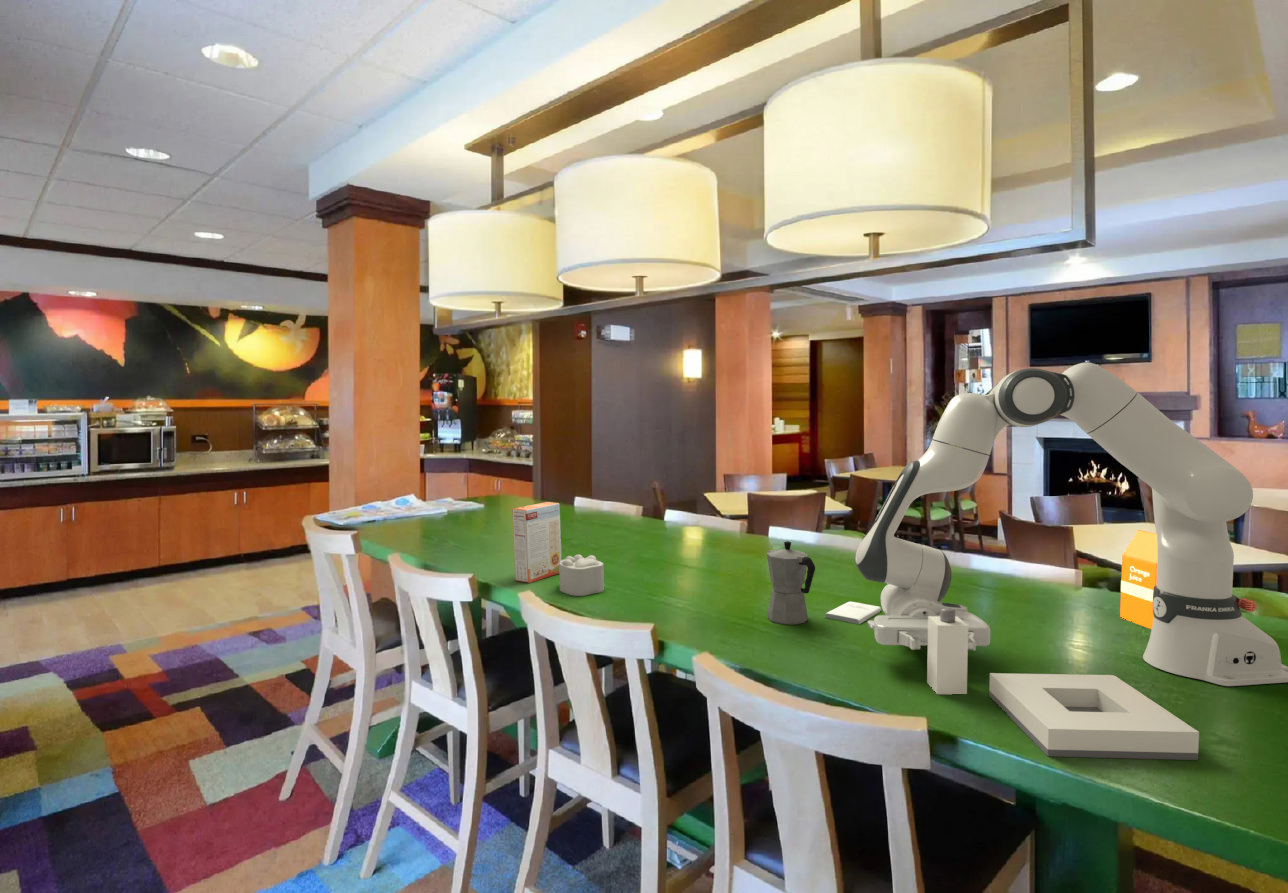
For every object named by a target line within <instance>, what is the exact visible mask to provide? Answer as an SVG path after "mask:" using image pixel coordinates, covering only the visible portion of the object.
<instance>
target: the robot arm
mask: <svg viewBox="0 0 1288 893" xmlns="http://www.w3.org/2000/svg"><path fill="white" fill-rule="evenodd" d="M1059 416H1062V417H1065V418H1067V419H1069V420H1070V421H1072V422H1073V423H1075V424H1076V425H1077V426H1078V427H1079V428H1080V429H1081V430H1082V431H1083V432H1084V433H1086V434H1087V435H1088V436H1089V437H1090V438H1091V439H1092V440H1093V441H1094V442H1096V443H1097V444H1098V445H1099V446H1101V448H1103V449H1104V450H1105V451H1106V452H1107V453H1108V454H1109V455H1110V456H1111V457H1112V458H1114V459H1115V460H1116V461H1117V462H1118V463H1120V464H1121V465H1122V466H1124V467H1125V468H1126V469H1127V470H1129V471H1130V472H1132V474H1134V475H1135V476H1136V477H1138V479H1140V481H1141V480H1142V481H1143V482H1144V483H1145V484H1146V485H1147V486H1149V487H1150V488H1151V491H1152V493H1151V494H1152V507H1153V508H1152V509H1153V517H1154V518H1153V519H1154V526H1155V533H1156V534H1157V580H1156V586H1154V589H1153V604H1152V605H1153V616H1154V619H1153V625H1152V629H1150V630H1151V632H1150V635H1149V639H1148V642H1147V645H1146V649H1145V651H1144V653H1143V655H1142V658H1143V660H1144V661H1145V662H1146V663H1147V664H1148V665H1150V666H1152V667H1154V668H1156V669H1160V670H1162V671H1164V672H1168V673H1170V674H1174V675H1177V676H1182V677H1187V678H1191V679H1197V680H1201V681H1205V682H1208V683H1212V684H1216V685H1220V686H1223V687H1236V686H1237V687H1238V686H1253V685H1265V684H1267V685H1268V684H1269V685H1270V684H1281V683H1288V666H1287V665H1285V664H1282V658H1281V657H1282V656H1281V650H1280V647H1279V645H1278V643H1277V641H1275V640H1274V638H1273V637H1271V636H1270V635H1269V634H1268V633H1266V632H1264V631H1263V630H1261V629H1260V628H1259V627H1258V626H1256V625H1255V624H1253V623H1252V622H1251V621H1250V620H1248V619H1247V618H1245V617H1244V616H1243V613H1242V610H1245V611H1247V612H1250V613H1252V612H1255V611H1256V610H1257V608H1258V604H1257V603H1256V601H1254V600H1251V599H1248V598H1246V597H1245V598H1239V597H1238V596H1237V595H1234V594H1233V580H1234V559H1235V558H1234V556H1235V552H1234V549H1233V547H1232V544H1231V541H1230V536H1229V532H1228V525H1227V522H1230V521H1233V520H1235V519H1237V518H1240V517H1241V516H1243V515H1244V514H1245V513H1246V512H1247V511H1248V510H1249V509H1250V507H1251V505H1252V504H1253V499H1254V490H1253V487H1252V484H1251V482H1250V480H1248V478H1247V477H1246V476H1245V475H1244V474H1243V473H1242V472H1241V471H1240V470H1239V469H1237V467H1235V466H1234V465H1232V464H1231V463H1230V462H1229V461H1227V460H1226V459H1225V458H1223V457H1222V456H1221V455H1220V454H1218V453H1217V452H1215V451H1214V450H1212V448H1210V447H1209V446H1207V445H1206V444H1204V443H1203V442H1202V441H1201V440H1199V439H1197V438H1196V437H1195V436H1193V435H1192V434H1191V433H1189V432H1188V431H1186V430H1185V429H1183V428H1182V427H1181V426H1179V425H1178V424H1177V423H1175V422H1173V421H1172V420H1171V419H1170V418H1169V417H1168V416H1166V415H1165V414H1164V413H1163V412H1162V411H1160V409H1158V408H1157V407H1156V406H1154V404H1152V403H1151V402H1150V401H1149V400H1147V399H1146V398H1145V397H1144V396H1143V395H1141V394H1140V393H1139V392H1138V391H1137V390H1135V388H1133V387H1131V386H1130V385H1129V384H1128V383H1127V382H1125V381H1124V380H1123V379H1121V378H1119V377H1118V376H1117V375H1115V374H1114V373H1112V372H1110V371H1109V370H1107V369H1105V368H1104V367H1101V366H1100V365H1098V364H1096V363H1092V362H1087V361H1086V362H1081V363H1077V364H1074V365H1072V366H1070V367H1068V368H1067V369H1065V370H1064V371H1063V372H1062V373H1059V372H1056V371H1055V372H1054V371H1052V370H1051V371H1049V370H1046V369H1041V368H1034V367H1033V368H1031V367H1030V368H1023V369H1019V370H1014V371H1013V372H1011V373H1008V374H1007V375H1005V376H1003V378H1001V379H1000V381H998V382H997V383H996V384H995V385H994V386H993V387H992V388H991V389H990V390H988V391H987V393H985V394H981V393H980V394H979V393H977V392H962V393H959V394H956V395H955V396H953V397H952V398H951V400H949V402H948V404H947V405H946V407H945V409H944V412H943V413H942V415H941V416H940V418H939V421H938V423H937V426H936V428H935V431H934V434H933V437H932V440H931V442H930V444H929V446H928V449H927V450H926V451H925V452H924V453H923V455H921V456H920V458H918V459H917V460H913V461H909V462H908V463H907V464H906V465H905V466H904V468H903V469H902V470H901V471H900V474H899V475H898V477H897V478H896V480H895V482H894V483H893V485H892V488H891V489H890V491H889V493H888V495H887V496H886V499H885V500H884V501H883V504H882V506H881V508H880V509H879V512H878V514H877V515H876V517H875V519H874V521H873V522H872V524H871V526H870V528H869V529H868V531H867V532H866V533H865V535H864V536H863V538H862V540H861V542H860V543H859V545H858V546H857V549H856V552H855V558H854V564H855V566H856V568H857V570H858V571H859V573H860V574H861V576H862V577H863V578H864V579H865V580H867V581H869V582H870V581H872V582H876V583H881V584H886V585H885V586H884V587H883V589H882V591H881V593H880V604H881V605H880V606H881V610H882V612H883V613H884V614H882V615H881V614H879V615H876V616H875V617H874V618H873V619H872V620H871V619H868V620H867V623H866V624H867V626H868V627H869V629H871V630H873V632H874V633H873V635H874V640H876V642H877V643H878V644H880V645H882V646H905V647H907V648H910V649H911V650H912V651H913V650H916V651H917V650H919V651H920V650H921V646H928V616H940V608H944V607H947V608H953V609H955V617H958V618H960V619H961V620H962V621H963V622H964V623H966V624H967V625H968V651H976V650H977V647H988V646H989V645H990V642H991V627H990V626H989V624H988V623H986V622H985V620H983V619H982V618H981V617H979V616H977V615H976V614H974V613H971V612H968V607H967V606H965V605H961V604H956V603H949V602H941V601H942V600H943V599H944V598H945V596H946V595H947V593H948V591H949V588H950V585H951V582H952V575H953V572H952V568H951V564H950V562H949V559H948V557H947V555H946V554H945V552H944V551H943V550H941V549H938V548H934V547H931V546H928V545H925V544H921V543H915V542H913V541H909V540H906V539H902V538H898V537H896V536H895V533H896V532H897V530H898V528H899V526H900V524H901V522H902V520H903V519H904V516H905V515H906V514H907V511H908V509H909V507H910V505H911V504H912V503H913V501H915V500H916V499H918V498H919V497H921V496H924V495H927V494H935V493H944V492H955V491H961V490H963V489H966V488H969V487H971V486H972V485H974V484H975V483H977V482H978V481H979V480H980V479H981V477H982V475H983V474H984V472H985V469H986V467H987V464H988V462H989V459H990V455H991V452H992V450H993V446H994V442H995V440H996V439H997V436H998V435H999V433H1000V432H1001V431H1002V430H1003V429H1004V428H1007V427H1008V428H1009V427H1013V428H1017V427H1018V428H1031V427H1035V426H1037V425H1040V424H1043V423H1046V422H1048V421H1051V420H1052V419H1054V418H1056V417H1059ZM1241 609H1242V610H1241Z"/></svg>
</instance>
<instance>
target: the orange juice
mask: <svg viewBox="0 0 1288 893" xmlns="http://www.w3.org/2000/svg"><path fill="white" fill-rule="evenodd" d="M1156 580H1157V534H1156V532H1155V533H1154V532H1152V531H1151V532H1150V531H1146V530H1141V529H1137V531H1136V533H1135V534H1134V537H1132V539H1131V541H1130V543H1129V544H1128V546H1127V547H1126V549H1125V551H1124V552H1123V553H1122V556H1121V580H1120V608H1119V609H1120V610H1119V612H1120V613H1119V614H1120V615H1119V618H1120V617H1122V618H1121V619H1123V618H1124V619H1123V620H1125V619H1126V621H1128V622H1131V621H1132V622H1131V623H1134V624H1136V625H1139V626H1142V627H1144V628H1147V629H1150V630H1152V625H1153V619H1154V616H1153V605H1152V604H1153V589H1154V586H1156Z"/></svg>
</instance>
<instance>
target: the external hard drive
mask: <svg viewBox="0 0 1288 893" xmlns="http://www.w3.org/2000/svg"><path fill="white" fill-rule="evenodd" d="M880 611H881V612H882V606H879V605H878V606H877V605H873V604H867V603H866V604H865V603H862V602H856V601H848V602H847V601H846V602H845V603H844V604H841V605H839V606H838V607H835V608H834V609H831V610H830V611H828V612H826V613H824V614H825V615H824V618H826V619H832V620H834V621H841V622H845V623H849V624H854V625H855V624H856V625H861V624H863V623H864V622H866V621H868V620H870V619H871V618H872V617H874V616H875V615H876V616H877V614H879V613H881V612H880Z"/></svg>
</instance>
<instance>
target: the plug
mask: <svg viewBox="0 0 1288 893" xmlns="http://www.w3.org/2000/svg"><path fill="white" fill-rule="evenodd" d="M968 651H969V650H968V625H967V624H966V623H964V622H963V621H962V620H961V619H960V618H958V617H955V609H953V608H947V607H944V608H940V616H928V645H927V655H926V656H927V659H926V660H927V661H926V662H927V665H926V666H927V668H926V669H927V670H926V676H927V677H926V683H927V685H929V687H930V688H931V687H932V688H931V689H932V691H933V692H934V691H935V692H936V693H935V692H934V693H935V694H936V695H952V694H968V658H969V657H968V656H969V654H968Z"/></svg>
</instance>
